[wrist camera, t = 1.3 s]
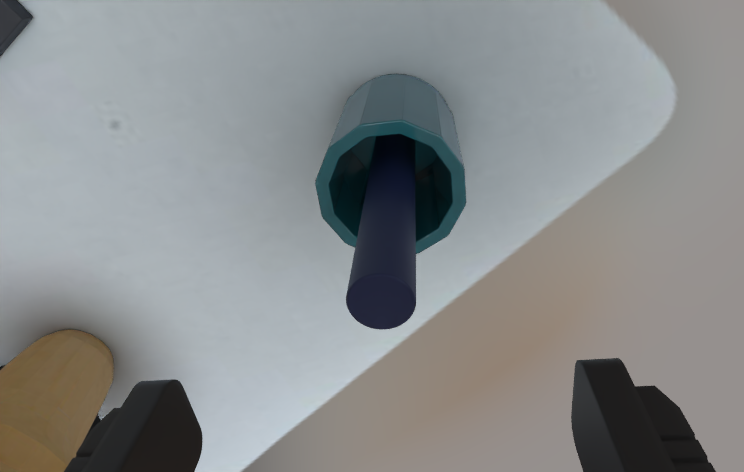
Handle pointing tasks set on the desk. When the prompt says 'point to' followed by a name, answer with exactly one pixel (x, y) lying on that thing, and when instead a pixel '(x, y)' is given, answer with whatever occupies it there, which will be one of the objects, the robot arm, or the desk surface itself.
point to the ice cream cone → (51, 400)
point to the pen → (386, 239)
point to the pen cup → (432, 157)
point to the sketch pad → (11, 22)
